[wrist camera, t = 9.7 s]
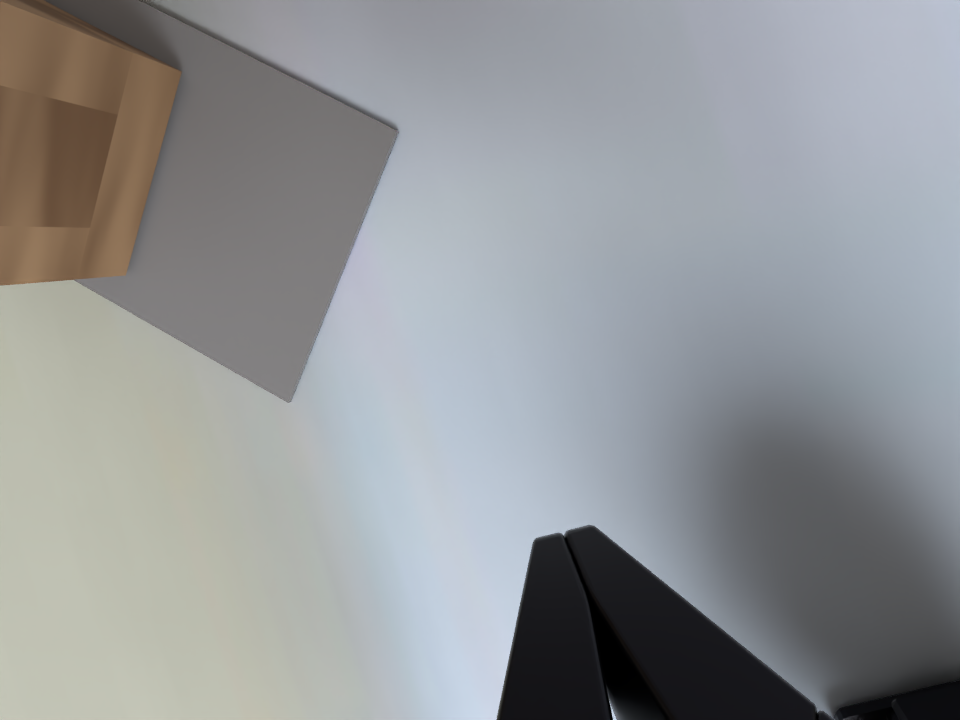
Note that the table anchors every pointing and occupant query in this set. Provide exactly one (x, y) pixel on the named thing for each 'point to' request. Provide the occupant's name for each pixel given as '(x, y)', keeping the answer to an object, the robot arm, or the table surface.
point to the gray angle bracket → (241, 201)
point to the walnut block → (74, 144)
